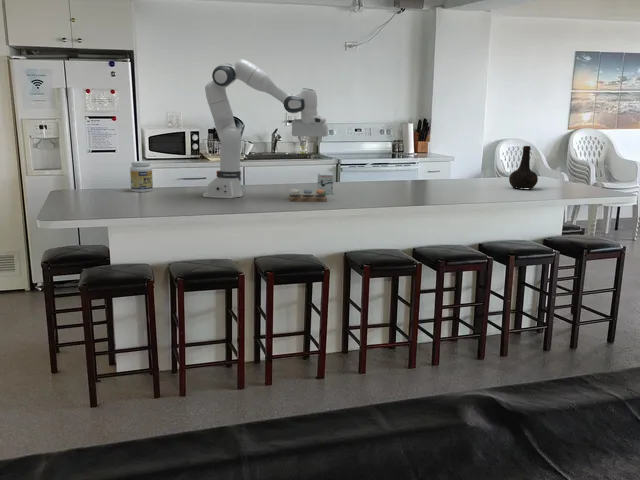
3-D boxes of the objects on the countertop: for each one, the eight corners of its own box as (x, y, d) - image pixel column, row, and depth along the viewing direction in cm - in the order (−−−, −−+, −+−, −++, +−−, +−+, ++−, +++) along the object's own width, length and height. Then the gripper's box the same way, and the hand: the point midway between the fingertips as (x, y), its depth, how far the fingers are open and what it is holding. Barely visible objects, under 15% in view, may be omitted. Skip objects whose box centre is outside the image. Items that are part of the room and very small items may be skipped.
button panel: (290, 201, 327) (290, 197, 326) (289, 197, 338) (289, 193, 338) (326, 201, 329) (326, 197, 328) (324, 198, 340) (324, 194, 340)
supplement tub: (139, 193, 343) (138, 163, 339) (126, 190, 350) (125, 161, 346) (157, 190, 353) (156, 161, 349) (144, 188, 360) (143, 160, 356)
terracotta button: (316, 193, 331) (316, 190, 330) (316, 192, 335) (316, 189, 335) (324, 193, 331) (324, 190, 331) (323, 192, 336) (323, 189, 335)
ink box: (319, 194, 352) (319, 174, 350) (316, 193, 357) (317, 173, 354) (333, 194, 355) (333, 174, 352) (331, 193, 359) (331, 173, 357)
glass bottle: (508, 189, 389) (512, 146, 382) (508, 186, 406) (512, 144, 399) (537, 191, 384) (542, 147, 377) (536, 187, 401) (540, 145, 394)
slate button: (304, 193, 330) (304, 190, 330) (303, 192, 334) (303, 188, 334) (312, 193, 331) (312, 190, 330) (311, 192, 335) (311, 189, 334)
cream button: (291, 193, 330) (291, 190, 329) (290, 192, 334) (290, 188, 333) (299, 193, 330) (299, 190, 330) (298, 192, 334) (298, 188, 334)
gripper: (289, 119, 327) (290, 145, 331) (325, 119, 321) (325, 145, 324) (293, 118, 333) (294, 144, 336) (328, 118, 326) (329, 144, 330)
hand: (309, 144), depth 330 cm, fingers open, 8 cm apart
